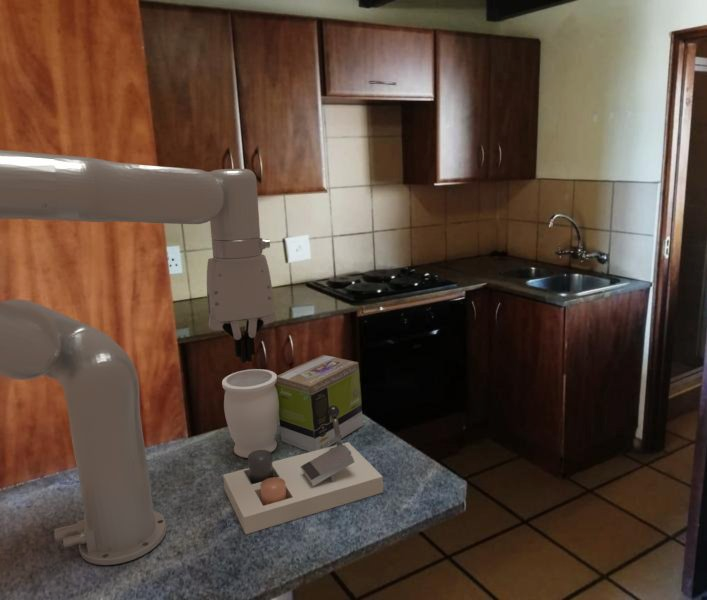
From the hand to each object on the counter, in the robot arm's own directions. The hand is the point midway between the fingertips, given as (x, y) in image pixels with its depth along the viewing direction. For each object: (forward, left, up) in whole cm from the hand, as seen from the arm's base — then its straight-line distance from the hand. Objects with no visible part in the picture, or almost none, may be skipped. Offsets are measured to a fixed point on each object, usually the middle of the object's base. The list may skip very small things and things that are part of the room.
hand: (245, 359), depth 96 cm
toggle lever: (+16, 0, -20) cm, 26 cm away
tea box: (+18, +14, -24) cm, 33 cm away
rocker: (+11, -6, -19) cm, 23 cm away
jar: (+4, +15, -24) cm, 29 cm away
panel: (+7, -4, -24) cm, 25 cm away
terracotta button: (+1, -7, -24) cm, 25 cm away
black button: (+1, 0, -22) cm, 22 cm away
